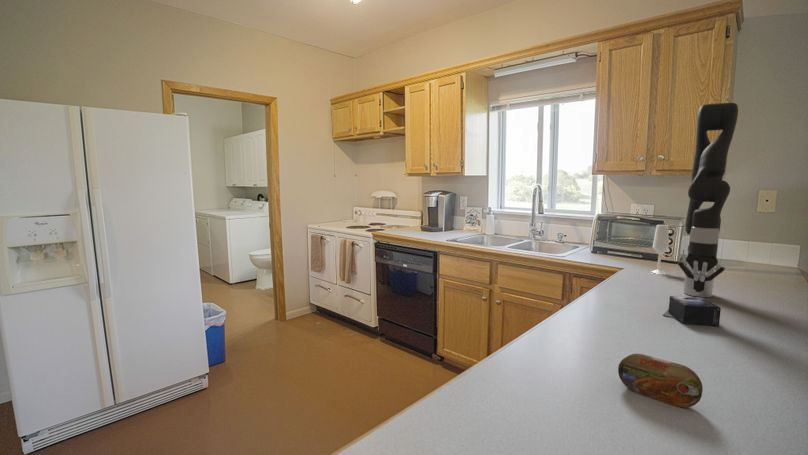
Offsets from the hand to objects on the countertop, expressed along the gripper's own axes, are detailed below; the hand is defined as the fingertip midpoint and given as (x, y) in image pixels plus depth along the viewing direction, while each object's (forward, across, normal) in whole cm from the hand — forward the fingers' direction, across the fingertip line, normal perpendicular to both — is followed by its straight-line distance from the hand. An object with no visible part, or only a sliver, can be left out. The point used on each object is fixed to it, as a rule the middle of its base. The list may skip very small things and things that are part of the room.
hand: (698, 291), depth 130 cm
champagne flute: (+9, +24, -62) cm, 67 cm away
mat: (+9, +3, 0) cm, 9 cm away
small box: (+5, -4, +2) cm, 7 cm away
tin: (+9, -3, +66) cm, 67 cm away
